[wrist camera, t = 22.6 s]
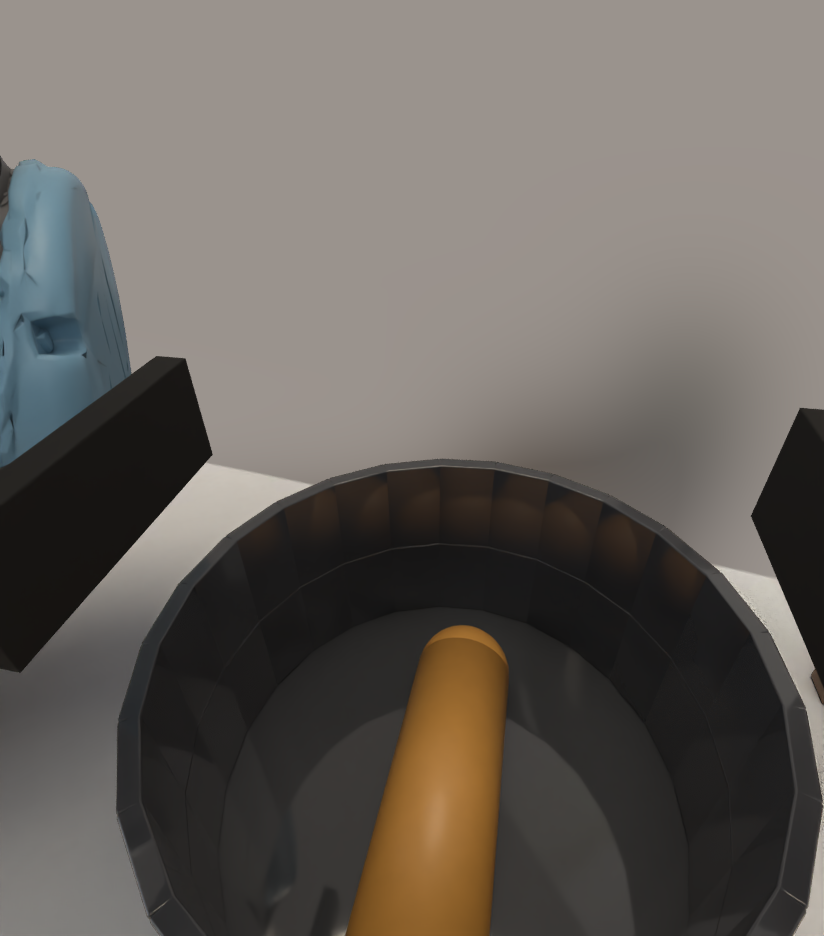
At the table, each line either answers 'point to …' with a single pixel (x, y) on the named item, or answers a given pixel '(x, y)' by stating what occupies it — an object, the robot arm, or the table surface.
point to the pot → (527, 717)
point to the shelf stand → (818, 685)
